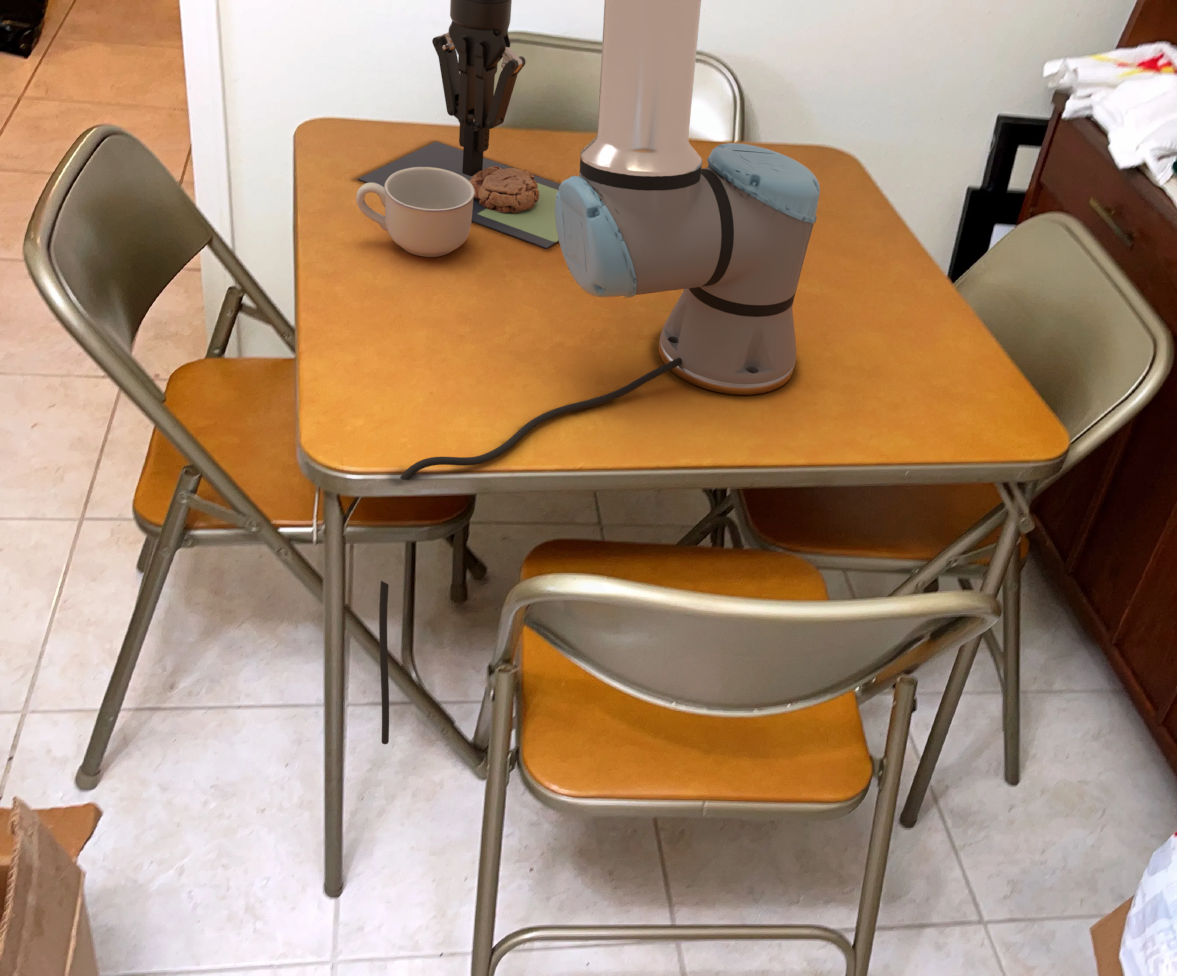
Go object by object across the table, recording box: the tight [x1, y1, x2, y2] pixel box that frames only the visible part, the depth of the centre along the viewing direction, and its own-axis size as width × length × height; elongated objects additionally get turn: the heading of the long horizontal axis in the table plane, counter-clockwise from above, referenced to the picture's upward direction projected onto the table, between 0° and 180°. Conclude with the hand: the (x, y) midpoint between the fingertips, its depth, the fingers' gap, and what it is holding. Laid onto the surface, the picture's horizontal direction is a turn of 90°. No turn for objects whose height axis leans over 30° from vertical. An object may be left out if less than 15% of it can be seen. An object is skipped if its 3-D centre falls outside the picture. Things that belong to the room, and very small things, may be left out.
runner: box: [357, 140, 561, 250], centre depth 153 cm, size 18×30×1 cm, turn 61°
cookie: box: [469, 166, 539, 213], centre depth 151 cm, size 10×11×3 cm
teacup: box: [355, 167, 475, 258], centre depth 136 cm, size 14×11×8 cm
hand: (472, 171), depth 153 cm, fingers closed
